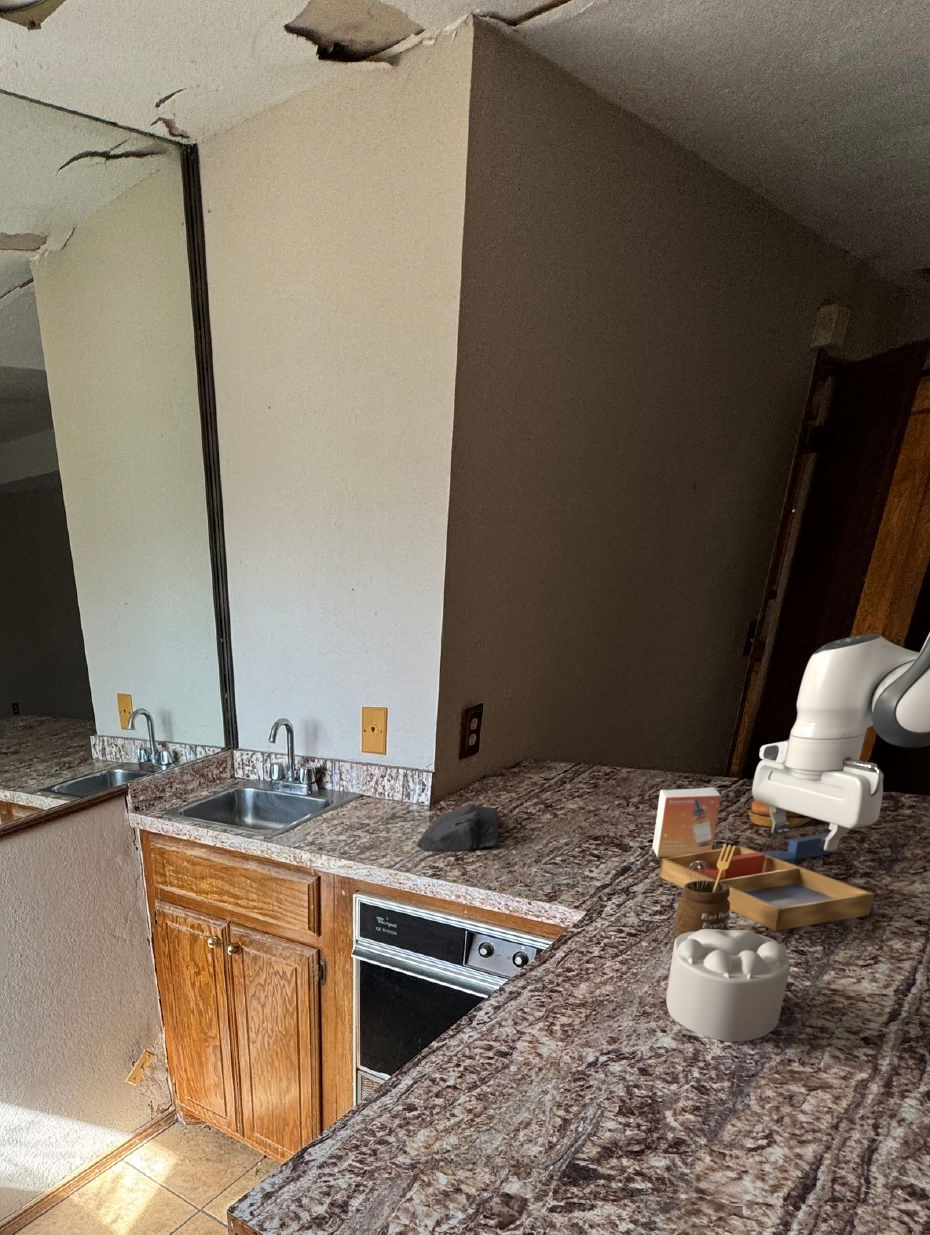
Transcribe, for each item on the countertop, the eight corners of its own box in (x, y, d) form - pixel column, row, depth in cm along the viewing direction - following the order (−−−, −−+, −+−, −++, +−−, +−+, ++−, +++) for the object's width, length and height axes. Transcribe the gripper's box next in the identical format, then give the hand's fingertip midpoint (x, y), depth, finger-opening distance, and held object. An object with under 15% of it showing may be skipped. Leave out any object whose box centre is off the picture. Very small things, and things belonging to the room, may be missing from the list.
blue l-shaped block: (815, 848, 126) (818, 830, 125) (838, 856, 122) (842, 838, 121) (754, 859, 126) (757, 841, 125) (775, 866, 122) (778, 848, 121)
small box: (656, 858, 132) (664, 797, 128) (651, 848, 137) (659, 788, 132) (712, 857, 129) (722, 794, 125) (705, 847, 134) (715, 786, 129)
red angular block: (747, 867, 122) (750, 849, 120) (769, 876, 118) (772, 857, 116) (683, 878, 121) (686, 859, 120) (703, 887, 117) (706, 868, 116)
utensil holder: (662, 934, 107) (674, 851, 102) (696, 922, 109) (708, 839, 104) (703, 947, 102) (717, 861, 97) (737, 935, 104) (753, 849, 99)
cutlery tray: (737, 863, 125) (740, 845, 124) (869, 915, 104) (874, 893, 102) (658, 876, 125) (661, 858, 124) (774, 931, 104) (779, 909, 102)
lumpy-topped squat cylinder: (765, 989, 91) (780, 921, 88) (789, 1046, 81) (806, 972, 77) (662, 983, 96) (672, 918, 92) (672, 1036, 86) (683, 966, 82)
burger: (766, 831, 136) (771, 805, 134) (736, 818, 144) (740, 793, 142) (828, 824, 135) (834, 798, 133) (794, 811, 143) (799, 786, 141)
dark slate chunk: (508, 818, 164) (509, 796, 162) (495, 851, 147) (496, 827, 145) (433, 819, 171) (433, 798, 169) (412, 851, 154) (412, 828, 152)
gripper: (907, 761, 108) (880, 857, 114) (789, 739, 126) (772, 822, 132) (863, 768, 108) (839, 863, 114) (752, 745, 126) (736, 828, 132)
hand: (802, 841), depth 123 cm, fingers open, 8 cm apart
